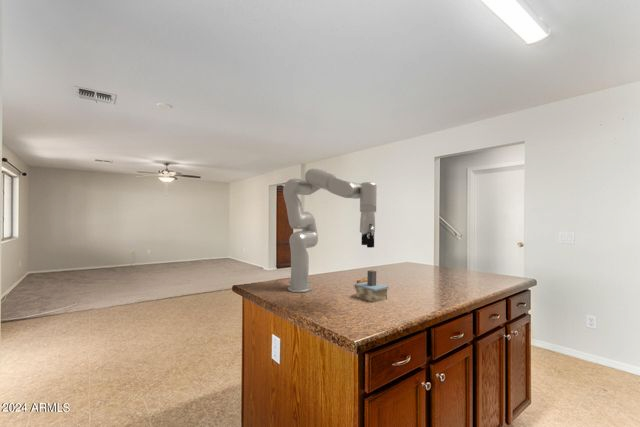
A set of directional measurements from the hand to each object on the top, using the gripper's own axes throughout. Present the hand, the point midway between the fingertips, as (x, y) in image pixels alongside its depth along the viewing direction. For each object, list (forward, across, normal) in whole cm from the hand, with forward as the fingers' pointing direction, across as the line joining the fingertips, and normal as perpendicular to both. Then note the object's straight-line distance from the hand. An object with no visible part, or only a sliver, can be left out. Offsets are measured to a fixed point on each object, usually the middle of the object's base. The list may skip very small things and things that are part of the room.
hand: (367, 246), depth 148 cm
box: (+27, -8, +4) cm, 29 cm away
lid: (+21, -8, +4) cm, 23 cm away
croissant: (+27, -26, +7) cm, 38 cm away
